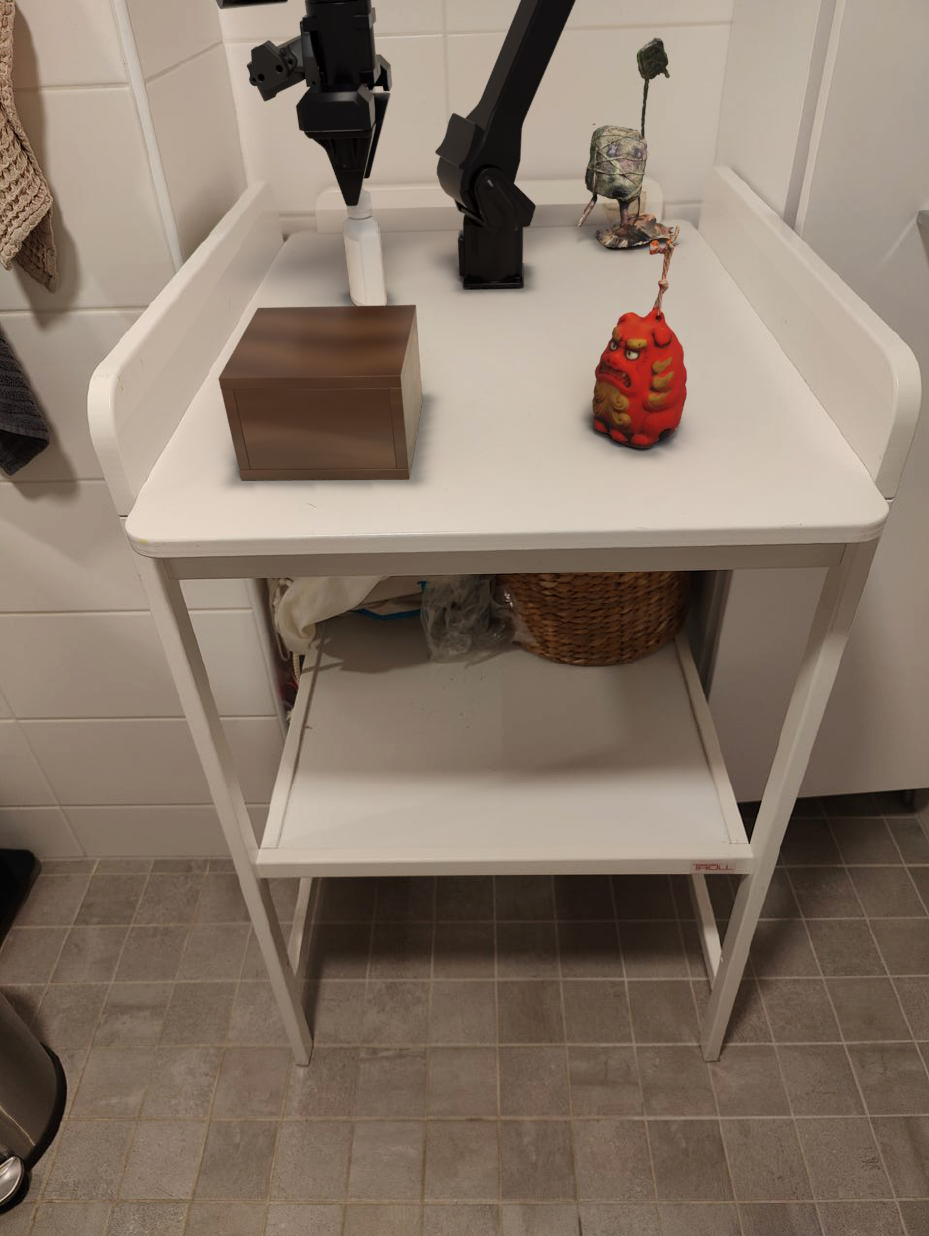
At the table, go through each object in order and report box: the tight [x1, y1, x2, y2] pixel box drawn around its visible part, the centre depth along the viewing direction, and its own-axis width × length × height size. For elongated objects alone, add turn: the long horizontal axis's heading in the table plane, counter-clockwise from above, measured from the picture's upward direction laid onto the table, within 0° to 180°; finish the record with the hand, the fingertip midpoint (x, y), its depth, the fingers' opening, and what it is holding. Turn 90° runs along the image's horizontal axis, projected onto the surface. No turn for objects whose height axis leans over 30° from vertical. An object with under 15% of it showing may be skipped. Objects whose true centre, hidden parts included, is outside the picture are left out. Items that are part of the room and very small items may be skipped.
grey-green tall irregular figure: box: [577, 36, 675, 249], centre depth 101 cm, size 8×11×20 cm
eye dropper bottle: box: [342, 186, 388, 306], centre depth 92 cm, size 4×6×12 cm
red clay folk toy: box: [591, 224, 688, 449], centre depth 68 cm, size 8×7×15 cm
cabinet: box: [217, 304, 423, 481], centre depth 71 cm, size 13×13×8 cm
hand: (358, 191), depth 89 cm, fingers open, 9 cm apart
